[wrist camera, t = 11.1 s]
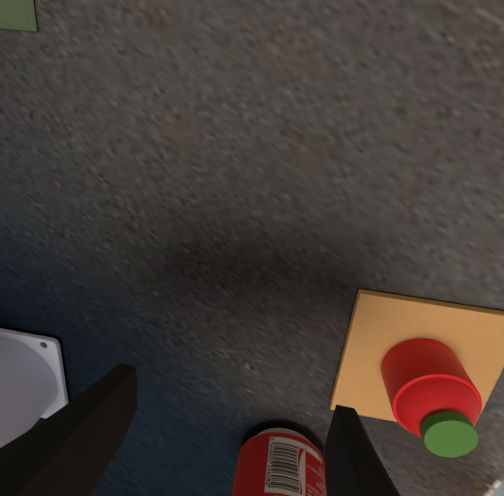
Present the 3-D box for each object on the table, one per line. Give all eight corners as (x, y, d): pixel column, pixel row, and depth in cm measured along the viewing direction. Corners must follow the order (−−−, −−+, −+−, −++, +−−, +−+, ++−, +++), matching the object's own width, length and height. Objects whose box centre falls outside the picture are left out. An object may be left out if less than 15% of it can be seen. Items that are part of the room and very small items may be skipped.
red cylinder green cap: (373, 388, 22) (391, 461, 17) (390, 332, 20) (416, 396, 15) (444, 401, 21) (482, 480, 17) (469, 344, 20) (518, 414, 15)
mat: (329, 402, 23) (330, 409, 23) (358, 288, 20) (359, 293, 19) (466, 428, 22) (470, 436, 22) (521, 313, 19) (527, 319, 18)
